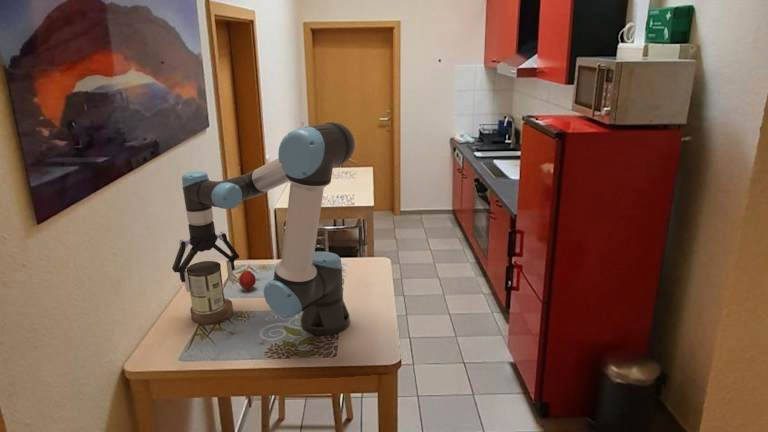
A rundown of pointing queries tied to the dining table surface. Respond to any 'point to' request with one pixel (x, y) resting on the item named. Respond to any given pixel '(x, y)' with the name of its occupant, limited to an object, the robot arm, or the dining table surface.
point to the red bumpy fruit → (247, 279)
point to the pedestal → (214, 314)
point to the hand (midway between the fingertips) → (209, 285)
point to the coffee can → (206, 287)
